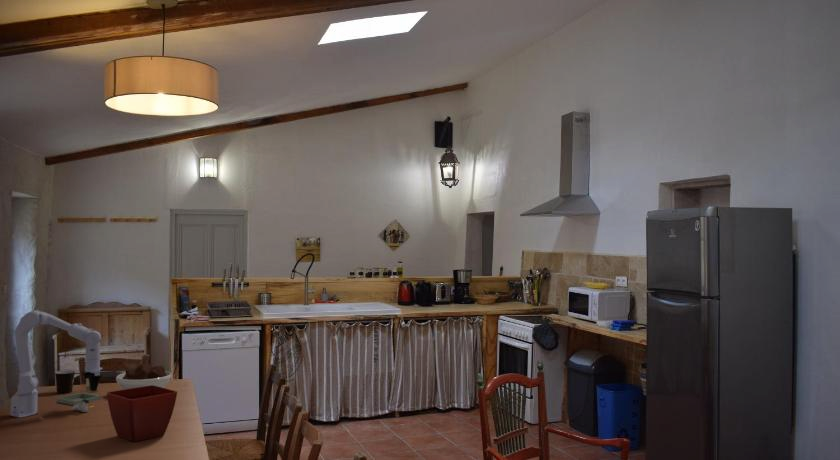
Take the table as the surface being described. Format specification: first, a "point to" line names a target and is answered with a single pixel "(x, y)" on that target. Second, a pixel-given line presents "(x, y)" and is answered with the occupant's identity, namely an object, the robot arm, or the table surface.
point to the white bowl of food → (144, 377)
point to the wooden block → (89, 387)
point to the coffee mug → (64, 381)
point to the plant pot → (141, 411)
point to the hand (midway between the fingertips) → (92, 389)
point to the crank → (82, 406)
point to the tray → (78, 398)
